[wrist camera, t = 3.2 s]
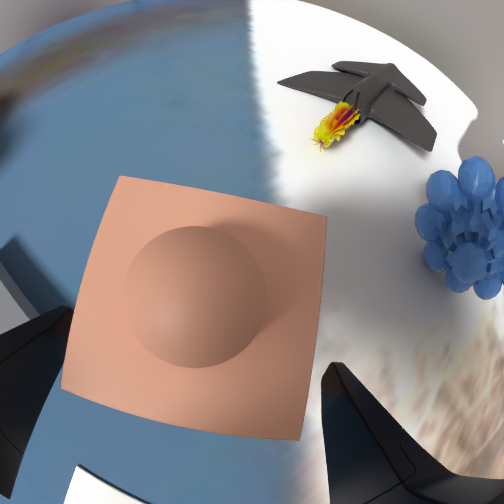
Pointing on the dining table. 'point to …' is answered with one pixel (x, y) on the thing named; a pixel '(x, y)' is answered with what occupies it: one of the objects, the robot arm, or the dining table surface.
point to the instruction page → (94, 491)
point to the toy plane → (366, 100)
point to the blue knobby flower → (465, 227)
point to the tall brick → (199, 310)
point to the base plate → (13, 303)
